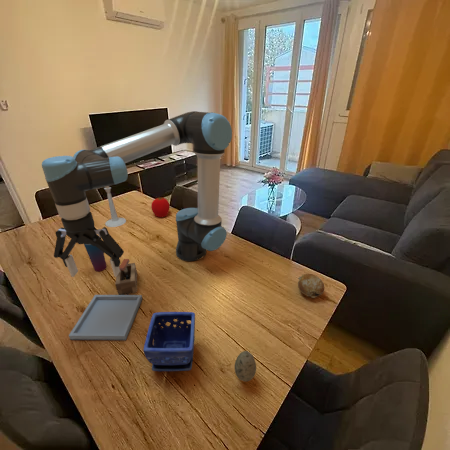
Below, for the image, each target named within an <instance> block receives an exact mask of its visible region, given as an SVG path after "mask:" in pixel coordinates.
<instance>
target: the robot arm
mask: <svg viewBox="0 0 450 450" xmlns="http://www.w3.org/2000/svg"><path fill="white" fill-rule="evenodd" d="M232 128H233V127H232V125H231V123H230V121H229V120H228V118H227V117H226V116H225V115H223V114H220V113H216V112H206V111H189V112H185V113H182V114H179V115H176V116H174V117H171V118H169V119H166V120H165V121H164V122H163V124H161V125H158V126H154V127H152V128H149V129H146V130H144V131H140V132H138V133H135V134H132V135H129V136H127V137H124V138H121V139H117V140H114V141H111V142H109V143H105V144H104V145H101V146H98V147H94V148H92V149H91V148H90V149H80V150H78V151H76V152H75V153H74V155H73V156H71V155H57V156H51V157H47V158H45V159H44V160H43V161H42V162H41V168H42V171H43V174H44V178H45V181H46V184H47V186H48V189H49V191H50V194H51V197H52V199H53V202H54V204H55V208H56V210H57V213H58V215H59V217H60V218H61V219H60V220H61V223H62V226H63V227H60V228H58V229H57V230H56V231H55V236H56V239H55V240H56V242H55V246H54V253H53V257H54V258H56V259H57V258H60V259H61V260H62V262H63V265H64V267H66V268H67V269H68V271H69V274H70V277H71V278H72V277H73V278H74V277H75V276H76V275H77V273H78V272H79V269H78V266H77V264H76V262H75V261H76V260H75V259H74V255H72V254H71V252H72V250H73V248H74V247H75V246H76V244H78V245H84V244H91V245H92V246H96V247H97V248H99V249H100V250H101V251H103V252H104V255H107V256H108V257H110V259H109V262H110V265H111V269H112V272H113V276H114V277H115V278H116V277H117V276H118V274H119V272H120V269H119V265H121V260H120V258H122V256H123V254H124V253H125V251H124V249H123V248H122V246H120V245H119V243H118V242H117V241H116V240H115V239H114V238H113V237H112V235H111V234H110V233H109V230H108V227H107V226H106V227H105V226H104V227H102V228H98V229H97V227H96V226H95V221H94V217H93V215H92V214H93V213H92V212H91V207H90V204H89V201H88V200H89V199H88V197H87V195H86V192H87V191H91V190H95V189H100V188H105V186H109V187H111V186H113V185H118V184H121V183H124V182H126V181H127V180H128V175H129V173H128V169H127V165H126V163H130V162H132V161H134V160H136V159H139V158H141V157H144V156H147V155H149V154H151V153H154V152H157V151H160V150H162V149H165V148H167V147H169V146H174V147H177V146H180V145H183V144H192V147H193V153H194V154H195V156H197V157H196V158H197V207H187V208H183V209H181V210H178V211H177V213H176V214H175V221H176V223H175V224H176V231H177V245H176V247H175V253H176V257H177V258H178V259H179V260H182V261H186V262H193V261H199V260H200V259H203V258H204V257H205V256H206V255H207V251H210V252H212V251H215V250H218V249H219V248H221V246H222V245H223V244H224V242H225V241H226V238H227V235H228V233H227V229H226V228H225V227H223V226H222V221H223V220H222V219H223V218H222V217H221V216H220V215H219V207H220V205H219V204H220V203H219V202H220V201H219V200H220V181H221V180H220V179H221V177H220V176H221V175H220V173H221V158H222V156H223V155H224V154H225V152H226V149H227V148H228V147H229V146H230V144H231V142H232V138H233V129H232ZM66 237H69V238H70V240H69V242H68V244H67V246H66V248H65V249H64V246H65V241H66V239H67V238H66ZM94 239H96V241H93V240H94Z"/></svg>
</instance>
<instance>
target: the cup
mask: <svg viewBox="0 0 450 450" xmlns="http://www.w3.org/2000/svg"><path fill="white" fill-rule="evenodd" d="M93 241H96V239H94V240H93ZM83 246H84V248H85V250H86V253H87V255H88V258H89V260H90V262H91V265H92V267H93V270H94V271H95V272H103V271H105V270H106V269H107V263H106V258H105V257H106V256H105V253H104V252H103V251H101V250H100V249H99V248H97V247H96V246H92V245H91V244H83Z"/></svg>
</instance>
